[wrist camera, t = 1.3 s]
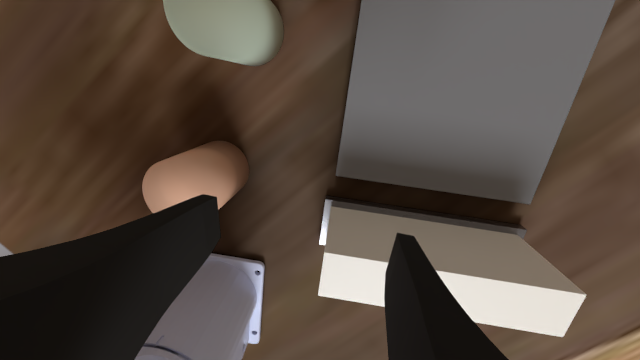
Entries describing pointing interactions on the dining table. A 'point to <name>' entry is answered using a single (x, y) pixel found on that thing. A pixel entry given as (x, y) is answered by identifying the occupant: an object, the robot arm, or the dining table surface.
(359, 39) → the pad
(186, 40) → the sage part
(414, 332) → the robot arm
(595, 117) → the dining table surface
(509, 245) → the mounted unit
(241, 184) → the terracotta part
